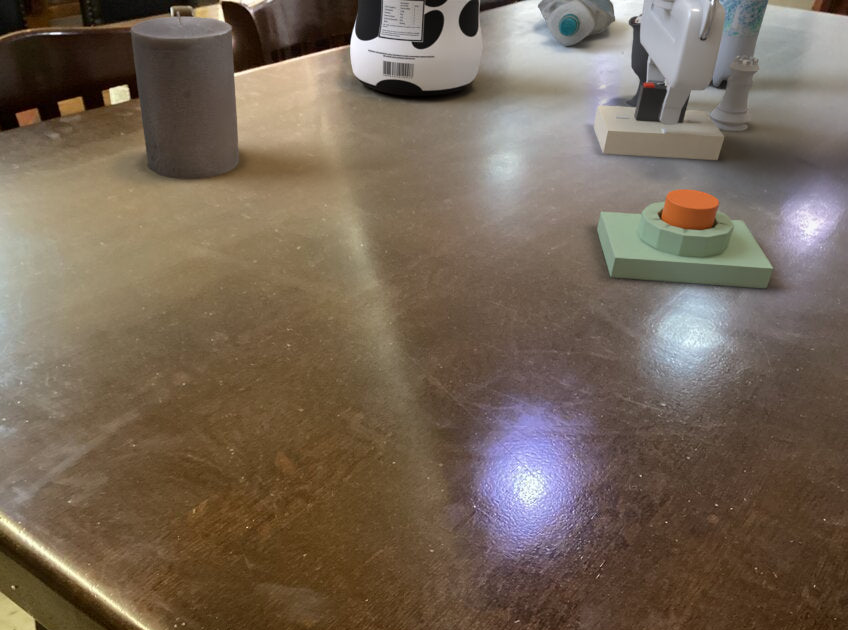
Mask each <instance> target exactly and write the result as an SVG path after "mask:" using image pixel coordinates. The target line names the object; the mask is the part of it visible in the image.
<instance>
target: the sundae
mask: <svg viewBox="0 0 848 630" xmlns="http://www.w3.org/2000/svg"><path fill="white" fill-rule="evenodd" d="M641 18H642V13H641V14H639V15H636V16H631V17H630V18H629V20H628V25H629V26H630V27H631V28H632V44H631V45H632V46H631V57H630V59H631V60H630V61H631V63H630V67H631V69H632V71H633V73H634V74H635V75H636V76H637V78H638V80H639V81H638V82H639V83H638V86H637V91H636V93H635V95H634V96H633V97H632V98H631V99H627V100H626V101H625V102H624V103H625V104H626V105H628V106H629V107H636V106H637V101H638V97H639V92H640V88H641V85H642V84H644V83H646V81H647V62H648V57H649V54H648V53H647V51H646V50H645V48H644V47H643V45H642V44H641V42H640V26H641Z"/></svg>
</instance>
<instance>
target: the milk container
mask: <svg viewBox="0 0 848 630" xmlns="http://www.w3.org/2000/svg"><path fill="white" fill-rule="evenodd" d="M357 3H358V5H357V14H356V18H355V22H354V26H353V28H352V32H351V36H350V37H351V38H350V46H349V53H350V54H349V55H350V63H351V69H352V70H351V71H352V73H353V75H354V77H355V79H357V81H358V82H360V83H361V84H362V85H363V86H364V87H366V88H369V89H373V90H374V91H377V92H381V93H386V94H392V95H396V96H408V97H433V96H434V97H435V96H439V95H448V94H452V93H455V92H458V91H461V90H464V89H465V88H466V87H468V86H470V85H471V84H472V83H473V82H474V81H475V79H476V77H477V76H478V72H479V69H480V66H481V61H482V57H483V46H484V45H483V44H484V43H483V36H482V28H481V21H480V6H481V0H358V2H357Z"/></svg>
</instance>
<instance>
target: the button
mask: <svg viewBox="0 0 848 630" xmlns="http://www.w3.org/2000/svg"><path fill="white" fill-rule="evenodd" d="M664 201H665V204H664V208H663V212H662V216H661V220H662V221H664V222H665V223H667V224H669V225H671V226H675V227H679V228H683V229H689V230H706V229H711V228H712V226H713V223H714V220H715V216H716V213H717V210H718V211H719V207H720V201H719V199H718V198H717V197H715V196H714V195H712V194H710V193H707V192H704V191H702V190H701V191H700V190H696V189H685V188H684V189H682V188H681V189H675V190H671V191H669V192H668V193H667V194H666V197H665V200H664Z"/></svg>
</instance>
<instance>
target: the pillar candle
mask: <svg viewBox="0 0 848 630" xmlns="http://www.w3.org/2000/svg"><path fill="white" fill-rule="evenodd" d="M232 30H233V26H232V25H231V24H229V23H228V22H226V21H223V20H219V19H216V18H212V17H201V16H181V14H180V11H178V10H177V11H176V16H164V17H156V18H150V19H146V20H142V21H140V22H136V23H134V25H131V27H130V36H131V45H132V51H133V62H134V69H135V75H136V77H135V78H136V85H137V92H138V97H139V98H138V100H139V106H140V113H141V122H142V123H141V124H142V129H143V135H144V145H145V151H146V158H147V159H146V160H147V164H146V167H147V168H148V169H149V170H151V171H152V172H153V173H155V174H156V175H159V176H162V177H165V178H170V179H180V180H194V179H195V180H196V179H205V178H211V177H216V176H221V175H223V174H226V173H229V172H231V171H232V170H234V169H235V168H236V167H237V166H238V165H239V163H240V153H239V134H238V133H239V132H238V115H237V97H236V83H235V82H236V81H235V66H234V63H235V62H234V51H233V50H234V49H233V34H232V33H233V31H232Z"/></svg>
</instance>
